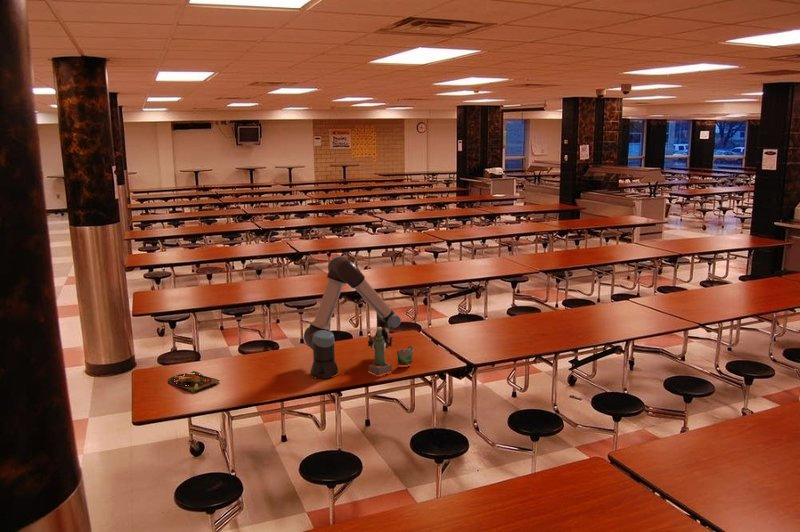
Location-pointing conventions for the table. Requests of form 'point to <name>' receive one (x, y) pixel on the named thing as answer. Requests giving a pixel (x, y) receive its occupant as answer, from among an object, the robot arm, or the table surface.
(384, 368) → the bottle rest
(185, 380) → the prepared meal
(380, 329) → the bottle
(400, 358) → the food container
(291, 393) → the table surface
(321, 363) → the robot arm
